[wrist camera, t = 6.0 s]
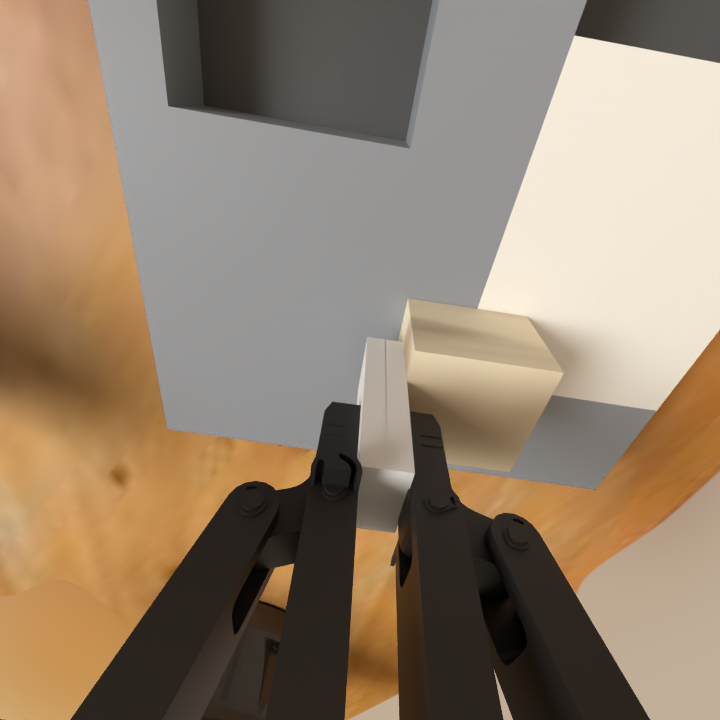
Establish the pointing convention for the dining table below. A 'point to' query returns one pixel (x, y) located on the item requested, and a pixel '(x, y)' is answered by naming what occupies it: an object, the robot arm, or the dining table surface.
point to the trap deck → (418, 199)
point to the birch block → (477, 379)
